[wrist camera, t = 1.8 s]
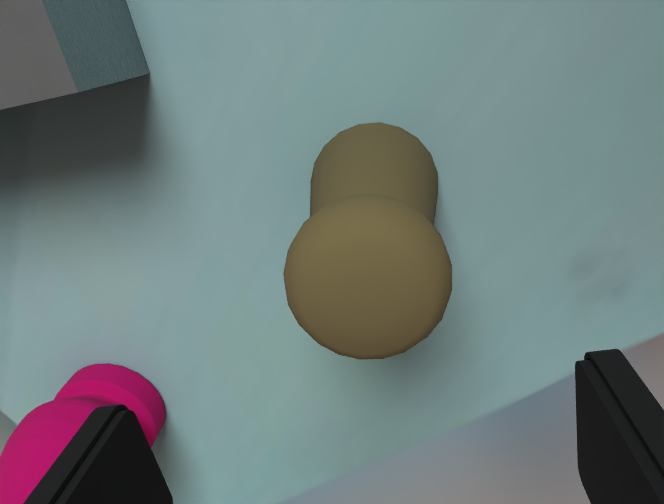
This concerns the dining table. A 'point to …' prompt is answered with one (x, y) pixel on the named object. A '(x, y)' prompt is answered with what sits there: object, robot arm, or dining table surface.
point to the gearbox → (64, 48)
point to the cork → (370, 246)
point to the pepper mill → (72, 423)
